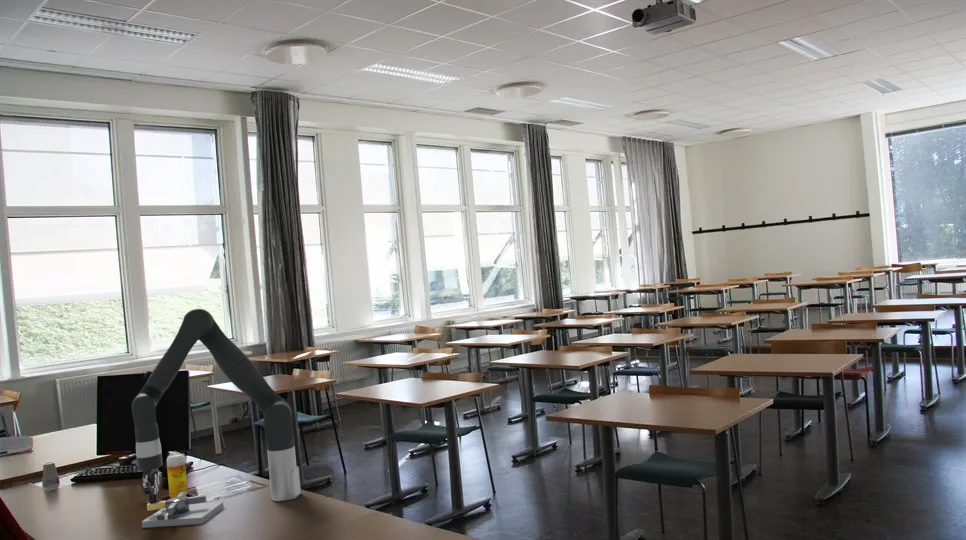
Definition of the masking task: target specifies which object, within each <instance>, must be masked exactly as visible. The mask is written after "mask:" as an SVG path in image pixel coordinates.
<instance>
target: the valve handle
mask: <svg viewBox="0 0 966 540" xmlns="http://www.w3.org/2000/svg"><path fill="white" fill-rule="evenodd" d="M199 503H207V494H203V495H197V496H196V495H195V496H190V497H189V496H187V494H185V492H180V493H179V495H178V496H177V497H175V498H171V497H170V498H169V499H167V500H161V501H158V502H154V503H147V505H146V509H147V510H146V511H147V512H148V511H149V512H151V511H155V510H157V511H158V510H161V509H163V508H165V509H163V510H161V514H163V513H168V515H171V514H174V513H178V515H179V514H183V513H185V512H187V511H189V505H190V504H199Z"/></svg>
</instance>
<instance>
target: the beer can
mask: <svg viewBox="0 0 966 540" xmlns="http://www.w3.org/2000/svg"><path fill="white" fill-rule="evenodd" d="M185 459H186V458H185V456H184V453H175V454H172V455H168V456H167V458H166V469H167V480H168V482H167V483H168V493H169V497H170V499H171V498H175V497H177V496H178V495H179V493H180V492H185V494H186V495H187V494H188V480H187V470H186V469H187V468H186V460H185Z"/></svg>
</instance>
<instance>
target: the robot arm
mask: <svg viewBox="0 0 966 540" xmlns="http://www.w3.org/2000/svg"><path fill="white" fill-rule="evenodd" d="M198 341H200V342H201V344H202V345H204V346H205V348H206V349H207V350H208V351H209V352H210V354H211V355H212V357H213V360H214V361H215V363H216V364H217V366H218V368H220V370H221V371H222V373H223V374H224V375H225V376H226V377H227V379H228V380H229V381H230V383H231V384H233V385H234V386H235V387H236V388H237V389H239V390H240V391H241V392H242V393H244V394H245V395H247V396H248V398H250V399H251V400H252V401H253V402H254V403H255V404H256V406H257V407H258V409H260V412H262V414H263V427H264V435H265V436H264V437H265V444H266V451H267V462H268V473H269V485H270V496H271V500H272V501H274V502H283V501H284V502H285V501H290V500H295V499H296V498H297V497H299V496H300V495H301V494H302V491H300V490H301V479H300V467H299V466H298V465H297V459H296V458H297V457H296V449H295V448H296V446H295V444H296V443H295V436H294V427H293V410H292V407H291V406H290V404H289V403H288V402H287V401H286V400H285V399H283V398H282V397H281V396H280V395H279V394H278V393H277V392H276V391H275V390H274V389H273V388H272V387H271V386H270V385H269V384H268V382H267V381H266V379H265V377H264V376H263V374H262V373H261V372H260V371H259V370H258V368H257V367H256V366H255V364H254V363H253V362H252V361H251V360H250V358H249V356H247V355H246V354H245V353H244V352H243V350H242V349H240V348H239V347H238V346H237V345H236V344H235V343H233V341H232V340H230V339H229V338H228V336H227V335H226V334H225V333H224V332H223V330H222V328H221V327H220V326H219V325H218V323H217V322H216V320H215V319H214V317H213V315H212V313H211V312H209V311H208V310H206V309H204V308H194V309H190V310H188V312H186V314H185V315H184V317H183V320H182V322H181V324H180V327H179V330H178V332H177V334H176V336H175V338H174V339H173V341H172V343H171V344H170V346H169V347H168V349H167V350H166V352H165V353H164V354H163V356H162V357H161V359H159V361H158V363H157V365H156V366H155V368H154V369H153V371H151V373H150V375H149V376H148V378H147V381H146V383H145V384H144V385H143V387H142V388H141V390H140V391H139V392H138V393H137V395H136V396H135V397H134V398H133V400H132V403H131V413H132V419H133V424H134V436H135V454H136V465H137V466H136V467H137V470H138V471H142V472H143V474H142V481H143V482H140V483H139V485H140V488H141V490H142V492H143V493H144V495H145V496H148V501H149V503H154V502H159V498H158V493H159V490H160V489H161V484H162V477H163V472H162V471H159V468H160V467H162V466H163V465H164V464H163V454H162V444H161V440H160V434H159V433H160V431H159V430H160V429H159V425H158V423H157V416H156V407H157V405H158V404H159V402H160V400H161V399H162V397H163V395H164V393H165V392H166V391H167V390H168V389H169V387H170V386H171V385H172V383H173V381H174V380H175V378H176V376H177V375H178V373H179V372H180V370H181V368H182V366H183V364H184V362H185V361H186V358H187V357H188V355H189V353H190V352H191V350H192V348H193V347H194V346H195V345H196V343H197V342H198ZM300 492H301V493H300Z"/></svg>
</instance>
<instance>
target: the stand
mask: <svg viewBox="0 0 966 540" xmlns="http://www.w3.org/2000/svg"><path fill="white" fill-rule="evenodd" d="M224 508H225V507H224V501H215V502H214V501H213V502H204V503H197V504H190V505H189V511H187V512H185V513H183V514H179V515H178V513H174V514H171V515H168V513H163V514H161V510H163V509H165V508H163V509H158V510H157V512H155V513H153V514H152V515H150V516H148V517H147V518H145V519H144V520H142V521H141V526H142V528H143V529H144V528H145V529H146V528H157V527H158V528H160V527H174V526H175V527H176V526H187V525H189V526H191V525H202V524H204V523H206V522H207V521H208V520H209V519H211V518H212V517H213V516H215V515H216V514H218V513H219V512H220V511H221V510H222V509H224Z"/></svg>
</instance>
